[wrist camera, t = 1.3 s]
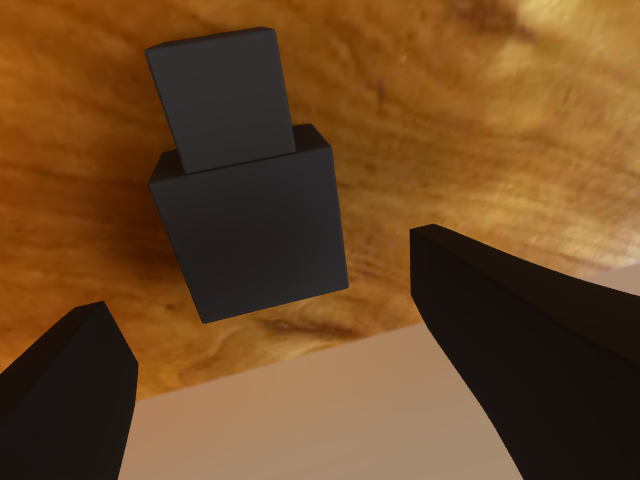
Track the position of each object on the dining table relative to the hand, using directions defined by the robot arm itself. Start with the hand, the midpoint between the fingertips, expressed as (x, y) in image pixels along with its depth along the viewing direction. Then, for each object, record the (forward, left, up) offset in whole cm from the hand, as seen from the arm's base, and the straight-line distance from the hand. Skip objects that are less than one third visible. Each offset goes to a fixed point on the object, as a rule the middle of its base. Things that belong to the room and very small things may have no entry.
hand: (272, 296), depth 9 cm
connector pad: (+1, +1, -5) cm, 6 cm away
